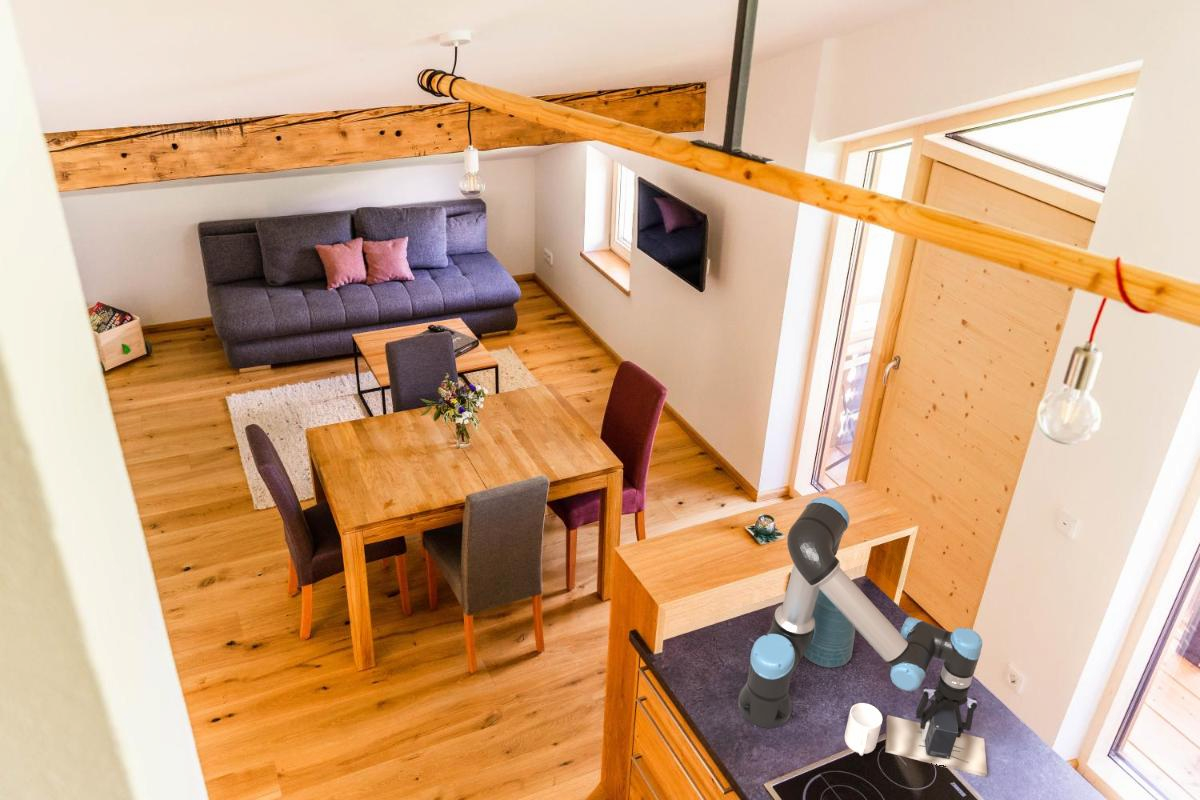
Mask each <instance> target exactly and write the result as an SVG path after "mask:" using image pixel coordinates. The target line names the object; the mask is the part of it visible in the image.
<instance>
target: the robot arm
mask: <svg viewBox="0 0 1200 800" xmlns="http://www.w3.org/2000/svg"><path fill="white" fill-rule="evenodd" d="M849 524H850V515H849V512H848V511H847V510H846V508H845V506H844V505H843V503H842V504H841V502H839V501H837V500H835V499H834V498H832V497H827V496H819V497H816V498H813V499H812V500H811V501H810V502H809V503H807V505H805V509H804V510H803V511H802V512H801V513H800V515H799V517H798V518H797V519H796V521H795V522H794V523H793V524H792V525H791V527H790V529H789V531H788V534H787V541H786V543H787V550H788V553H789V555H790V558H791V560H792V562H793V564H792V565H793V566H792V569H791V573H790V578H789V581H788V584H787V588H786V591H785V596H784V598H783V603H782V604H781V605H779V606H778V607H777V608H776V610H775V612H774V615H773V619H772V622H771V625H770V628H769V630H768V631H767V633H766V634H763V635H762V636H760V637H759V638H757V639H756V640H755V642H754V643H753V646H752V648H751V651H750V652H751V653H750V659H749V660H750V661H749V669H748V676H747V681H746V683H745V685H743V687H742V689H741V690H740V692H739V695H738V702H737V705H738V710H739V712H740V714H741V716H742V717H743V718H744V719H745V720H746V721H748V722H749V723H750V724H752V725H754V726H757V727H760V728H764V729H773V728H774V729H775V728H779V727H782V726H783V725H784V724H786V723H787V722H788V720H790V717H791V713H792V708H793V706H792V705H793V704H792V699H791V696H790V693H789V692H790V691H789V688H790V683H791V679H792V676H793V673H794V672H795V671H796V668H797V666H798V665H799V663H800V661H801V659H802V657H804V653H805V651H806V650H807V648H808V647H809V645H810V644H811V643H812V641H813V639H814V636H815V632H816V626H815V618H814V616H813V615H812V614H813V610H814V607H815V604H816V600H817V597H818V594H819V590H821V591H822V592H823V593H824V594H825V596H826V597H827V598H828V599H829V600H830V601H831V602H832V603H833V604H834V605H835V607H836V608H837V609H838V610H839V611H840V612H841V613H842V614H843V615H844V616H845V617H846V619H847V620H848V621H849V622H850V623H851V624H852V625H853V626H854V627H855V630H856V631H857V632H858V633H859V635H861V636H862V637H863V638H864V640H866V642H867V643H868V644H869V645H870V646H871V647H872V648H873V649H874V650H875V652H876V653H878V655H879V657H881V658H882V659H883V661H885V662H886V664H887V665H888V666H889V667H890V668H891V669H890V679H891V681H892V683H893V685H894V686H896V687H897V688H898V689H901V690H903V691H907V692H912V691H916V690H918V689H919V688H920V686H921V685H922V683H923V681H924V679H925V678H926V674H927V671H928V669H929V666H930V664H931V661H932V660H933V657H934V658H936V659H938V660H942V661H944V662H943V665H942V669H941V672H940V675H939V678H938V680H937V685H936V686H935V687H934V689H933V688H931V689H929V687H928V686H924V687H923V693H922V696H921V698H920V701H919V703H918V705H917V708H916V711H915V713H916V714H915V715H916V716H915V717H916V719H917V720H920V722H919V723H920V728H921V729H923V730H922V740H925V738H926V735H927V731H928V728H929V724H930V718H931V717H932V716H933V715H934V714H935V713H936V712H937V711H938V709H941V708H942V707H943V706H945V707H950V708H953V709H954V712H955V718H956V724H957V729H958V734H957V737H958V738H960V736H961V733H963V734H964V730H965V731H968V732H970V731H971V730H972V724H973V717H974V712H975V710H976V709H977V708H978V700H977V698H976V697H972V698H970V697H968V693H969V691H970V690H969V689H970V686H971V683H972V680H973V677H974V674H975V671H976V669H977V668H976V667H977V665H978V662H979V658H980V655H981V654H982V653H981V652H982V647H983V639H982V638H981V636H980V635H979V633H978V632H976V631H975V630H973V629H972V628H969V627H965V628H964V627H958V628H955V629H954V630H953V632H952V631H949V630H946V629H944V628H941V627H938V626H937V625H934V624H931V623H929V622H926V621H925V620H923V619H922V620H921V619H918V618H915V617H913V616H908V617H906V618H905V620H904V622H903V624H902V627H901V629H900V631H898V629H897V628H895V626H894V625H893V624H892V623H891V622H890V621H889V620H888V619H887V618H886V616H885V615H884V614H883V613H882V612H881V611H880V610H879V609H878V608H877V607H876V606H875V604H874V603H873V602H872V601H871V600H870V599H869V598H868V597H867V596H866V594H864V592H863V591H862V590H861V589H860V588H859V586H858V585H856V583H855V582H854V581H853V580H851V577H849V576H848V575H847V574H846V573H845V571H843V569H842V568H841V567H840V560H839V559H838V558H837V557H836V555H837V553H838V551H839V547H840V544H841V540H842V538H843V536H844V533H845V531H847V529H848V528H849ZM932 696H934V697H935V698H934V699H933V700H934V702H933V703H932V704H931V705H930V704H929V705H930V706H928V707H927V705H928V703H929V701H930V700H931V698H932ZM929 699H930V700H929ZM965 704H966V705H967V709H966V711H967V712H966V716H965V721H963V717H962V712H961V706H963V705H965Z"/></svg>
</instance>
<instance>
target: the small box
mask: <svg viewBox="0 0 1200 800" xmlns="http://www.w3.org/2000/svg"><path fill="white" fill-rule="evenodd" d="M934 700H935V699H930V700H929V701H930V702H929V706H930V705H931V704H932V703H933V702H934ZM929 706H928V707H929ZM956 723H957V720H956V715H955V711H954V709H953V708H950V707H945V706H943V707H942V708H941V709H938V711H937V712H936V713H935V714H934V715H933V716H932V717H931V718H930V724H929V728H928V731H927V735H926V738H925V747H926V754H927V755H931V756H936V757H942V758H947V759H950V755H951V752H952V749H953V746H954V743H955V740H956V737H957V734H958V729H957V724H956Z"/></svg>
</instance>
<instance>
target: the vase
mask: <svg viewBox="0 0 1200 800" xmlns="http://www.w3.org/2000/svg"><path fill="white" fill-rule="evenodd" d="M812 615H813V616H814V618H815V626H816V632H815V636H814V639H813V641H812V643H811V644H810V645H809V647H808V648H807V650H806V651H805V653H804V655H803V657H805V658H806V659H807V660H808V661H809V662H811V663H813V664H815V665H817V666H820V667H824V668H837V667H842V666H844V665H846V664H848V662H849V661H850V660H851V659H852V655H853V651H854V650H853V649H854V643H855V637H856V636H855V635H856V628H855V627H854V626H853V625H852V624H851V623H850V622H849V621H848V620H847V619H846V617H845V616H844V615H843V614H842V613H841V612H840V611H839V610H838V609H837V608H836V607H835V605H834V604H833V603H832V602H831V601H830V600H829V599H828V598H827V597H826V596H825V594H824V593H823V592H822V591H821V590H819V594H818V597H817V600H816V604H815V607H814V610H813V614H812Z"/></svg>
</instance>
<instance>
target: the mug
mask: <svg viewBox="0 0 1200 800" xmlns="http://www.w3.org/2000/svg"><path fill="white" fill-rule="evenodd" d="M847 718H848V719H847V723H846V727H845V732H844V741H845V742H844V743H845V744H846V746H847V747H848V748H849V749H850V750H851V751H853V752H855V753H857V754H859V756H861V757H862V756H864V754H865V755H867V754H869V753H872V752H873V751H874V750H875V749H876V747H877V743H878V740H879V739H878V738H879V736H880V732H881V727H882V723H883V715H882V713H881V712H880V709H878V708H877V707H876V706H873V705H872V704H869V703H867V702H859V703H855V704H853V705H852V706H851V708H850V710H849V714H848V717H847Z"/></svg>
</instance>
